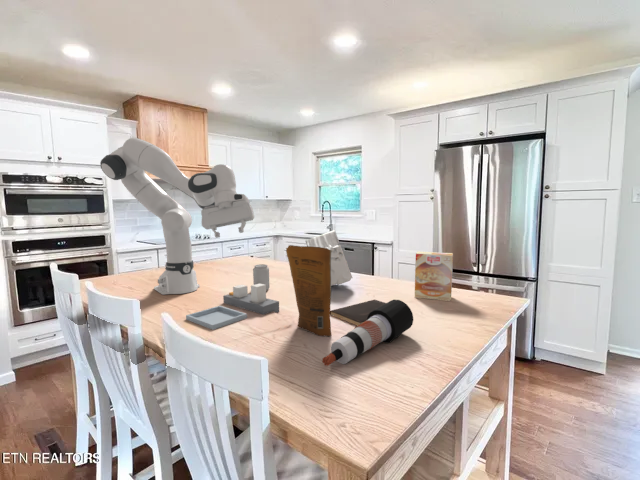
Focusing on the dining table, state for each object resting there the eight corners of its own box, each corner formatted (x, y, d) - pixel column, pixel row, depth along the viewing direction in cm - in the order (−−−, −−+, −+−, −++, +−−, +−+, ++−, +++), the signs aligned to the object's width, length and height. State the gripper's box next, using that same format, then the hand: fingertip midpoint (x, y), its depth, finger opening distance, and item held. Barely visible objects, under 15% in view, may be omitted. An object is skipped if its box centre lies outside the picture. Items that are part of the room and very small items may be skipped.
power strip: (223, 305, 139) (222, 286, 138) (239, 300, 145) (238, 282, 144) (263, 317, 124) (263, 295, 123) (279, 311, 130) (278, 291, 129)
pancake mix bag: (324, 341, 102) (323, 249, 99) (285, 325, 116) (284, 243, 113) (339, 335, 106) (339, 247, 103) (301, 320, 120) (299, 242, 117)
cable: (321, 383, 87) (305, 345, 89) (394, 332, 110) (380, 303, 112) (346, 379, 80) (329, 339, 81) (418, 326, 103) (404, 295, 105)
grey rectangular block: (251, 308, 131) (250, 285, 129) (260, 305, 134) (259, 283, 133) (257, 310, 128) (257, 287, 127) (266, 307, 132) (265, 284, 131)
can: (266, 292, 158) (265, 266, 157) (251, 291, 160) (250, 266, 158) (271, 288, 165) (271, 263, 164) (257, 287, 167) (256, 263, 166)
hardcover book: (404, 314, 127) (404, 308, 127) (359, 328, 113) (359, 321, 113) (373, 304, 140) (373, 299, 140) (329, 316, 126) (329, 310, 126)
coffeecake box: (414, 297, 147) (415, 253, 145) (416, 293, 154) (417, 251, 151) (451, 301, 141) (452, 255, 139) (451, 296, 148) (453, 252, 146)
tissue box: (355, 285, 158) (336, 232, 156) (321, 297, 159) (302, 245, 156) (351, 275, 179) (335, 229, 177) (322, 286, 180) (305, 240, 177)
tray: (186, 322, 119) (185, 315, 119) (220, 311, 130) (219, 305, 130) (213, 332, 109) (212, 325, 109) (247, 320, 120) (246, 313, 120)
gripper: (197, 204, 132) (199, 237, 127) (248, 193, 131) (252, 226, 126) (204, 210, 137) (206, 242, 133) (253, 200, 137) (257, 232, 132)
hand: (229, 234), depth 130 cm, fingers open, 8 cm apart
